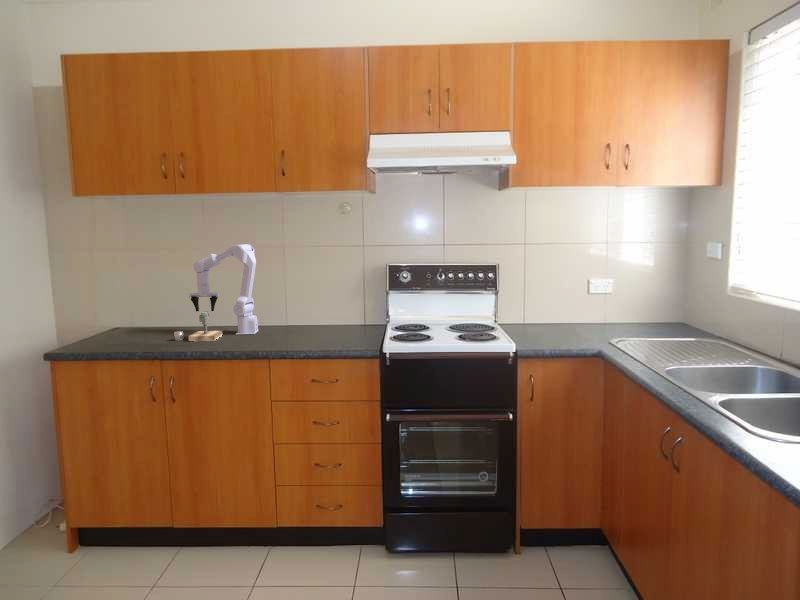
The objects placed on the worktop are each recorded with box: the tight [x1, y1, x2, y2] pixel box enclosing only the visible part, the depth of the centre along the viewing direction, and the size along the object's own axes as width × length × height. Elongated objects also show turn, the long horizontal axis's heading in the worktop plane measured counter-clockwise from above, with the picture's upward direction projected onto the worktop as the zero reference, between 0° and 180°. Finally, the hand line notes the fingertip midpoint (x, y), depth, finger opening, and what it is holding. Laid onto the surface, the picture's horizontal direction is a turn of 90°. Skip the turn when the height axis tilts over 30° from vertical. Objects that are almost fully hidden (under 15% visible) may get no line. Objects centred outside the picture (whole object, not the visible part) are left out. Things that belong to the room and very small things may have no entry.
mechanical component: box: [198, 310, 211, 334], centre depth 260 cm, size 3×10×10 cm, turn 6°
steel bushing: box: [173, 330, 185, 342], centre depth 259 cm, size 4×4×4 cm
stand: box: [188, 330, 223, 342], centre depth 261 cm, size 12×12×2 cm
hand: (205, 311), depth 278 cm, fingers open, 7 cm apart
